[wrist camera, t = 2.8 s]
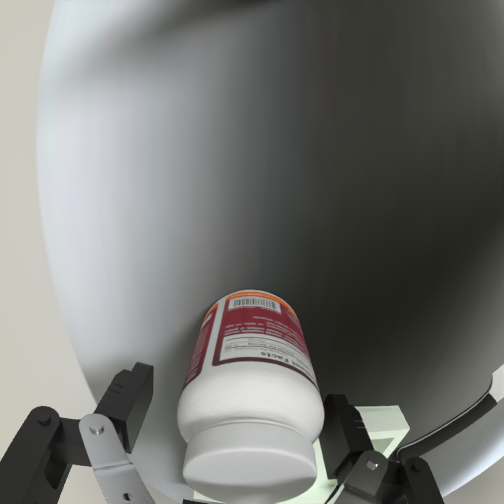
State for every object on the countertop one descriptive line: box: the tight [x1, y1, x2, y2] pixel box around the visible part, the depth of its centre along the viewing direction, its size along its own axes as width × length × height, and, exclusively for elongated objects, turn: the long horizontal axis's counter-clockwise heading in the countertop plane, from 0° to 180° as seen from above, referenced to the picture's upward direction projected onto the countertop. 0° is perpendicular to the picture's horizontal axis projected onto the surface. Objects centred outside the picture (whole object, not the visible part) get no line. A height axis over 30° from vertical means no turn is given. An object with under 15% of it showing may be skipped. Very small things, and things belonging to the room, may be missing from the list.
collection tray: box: [194, 406, 410, 504], centre depth 20 cm, size 16×14×3 cm
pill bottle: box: [177, 290, 324, 504], centre depth 13 cm, size 6×6×11 cm
